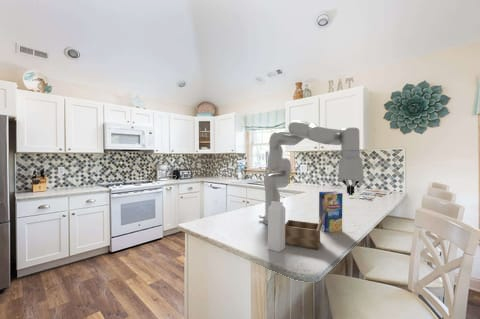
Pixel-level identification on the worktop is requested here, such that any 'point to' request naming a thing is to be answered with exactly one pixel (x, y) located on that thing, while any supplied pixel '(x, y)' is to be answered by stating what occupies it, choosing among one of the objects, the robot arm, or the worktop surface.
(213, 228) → the worktop surface
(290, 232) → the crate
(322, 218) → the lid
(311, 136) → the robot arm
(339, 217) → the beverage box
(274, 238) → the milk
